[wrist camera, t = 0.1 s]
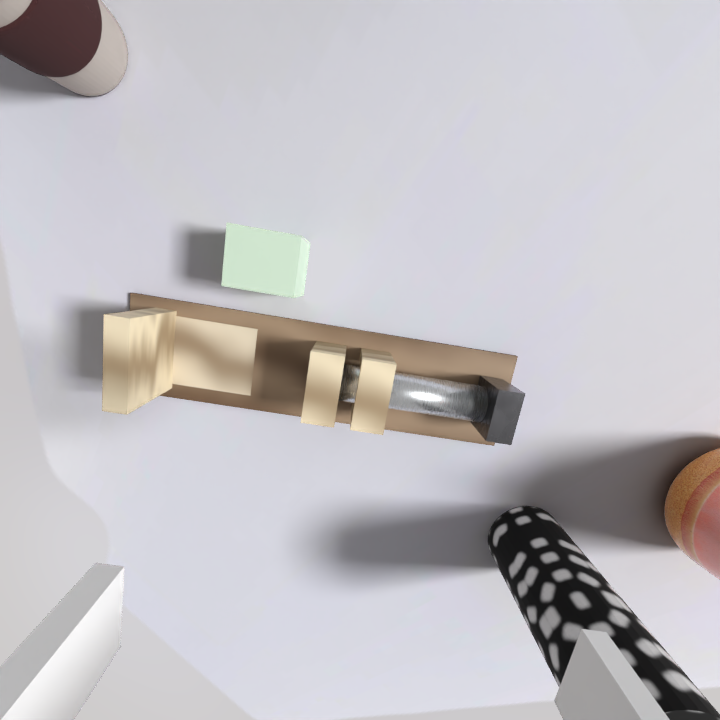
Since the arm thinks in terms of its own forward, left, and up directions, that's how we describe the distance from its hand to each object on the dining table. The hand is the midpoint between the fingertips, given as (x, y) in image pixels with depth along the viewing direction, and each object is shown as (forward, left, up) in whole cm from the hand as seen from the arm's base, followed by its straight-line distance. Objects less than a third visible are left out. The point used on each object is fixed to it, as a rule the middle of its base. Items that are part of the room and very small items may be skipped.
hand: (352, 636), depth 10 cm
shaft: (0, +5, -27) cm, 28 cm away
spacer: (-10, -9, -28) cm, 31 cm away
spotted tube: (+16, +23, -28) cm, 39 cm away
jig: (0, -3, -28) cm, 28 cm away
